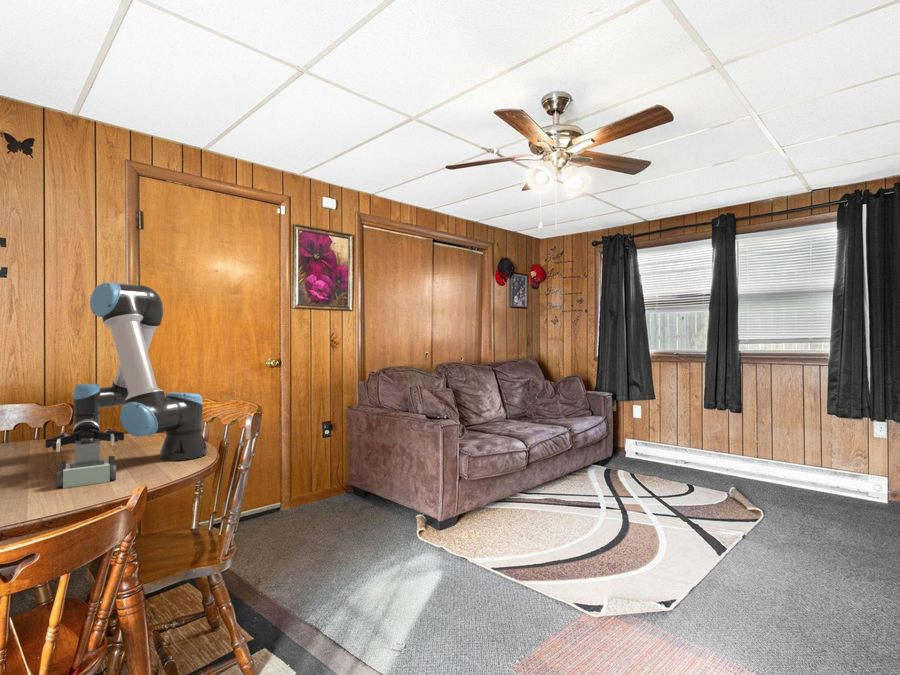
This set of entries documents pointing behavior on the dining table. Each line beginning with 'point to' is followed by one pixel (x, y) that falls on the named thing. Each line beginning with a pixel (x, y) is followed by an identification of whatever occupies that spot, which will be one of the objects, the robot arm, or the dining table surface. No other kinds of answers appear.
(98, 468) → the toy car chassis
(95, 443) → the grey upright block
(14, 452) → the dining table surface
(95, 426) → the robot arm
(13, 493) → the dining table surface
